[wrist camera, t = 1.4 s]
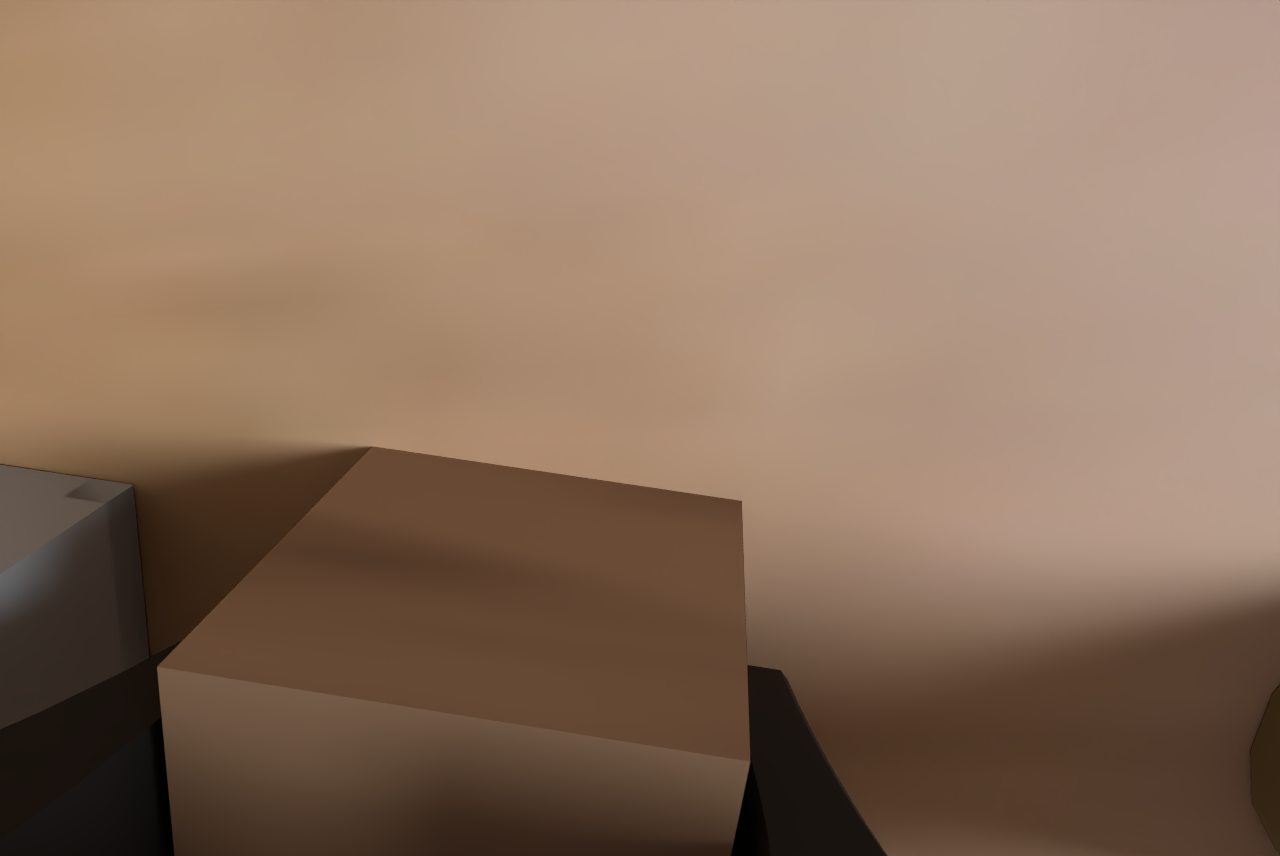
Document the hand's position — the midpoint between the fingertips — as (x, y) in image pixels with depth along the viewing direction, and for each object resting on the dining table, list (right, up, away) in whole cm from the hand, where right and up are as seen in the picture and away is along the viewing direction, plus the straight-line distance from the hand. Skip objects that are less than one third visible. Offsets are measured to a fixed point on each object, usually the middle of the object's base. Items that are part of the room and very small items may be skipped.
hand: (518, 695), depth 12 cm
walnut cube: (0, +1, +1) cm, 2 cm away
